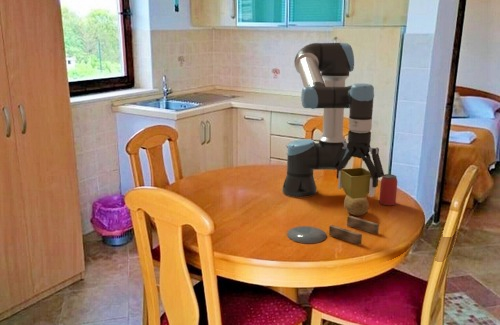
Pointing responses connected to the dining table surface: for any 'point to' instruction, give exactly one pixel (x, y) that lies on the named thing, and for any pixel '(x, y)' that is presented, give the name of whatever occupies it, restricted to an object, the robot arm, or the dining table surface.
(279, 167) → the dining table surface
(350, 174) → the flower pot
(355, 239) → the wooden blocks
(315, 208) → the dining table surface
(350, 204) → the potato
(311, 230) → the grey round disc
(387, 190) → the beer can
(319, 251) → the dining table surface
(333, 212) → the dining table surface
